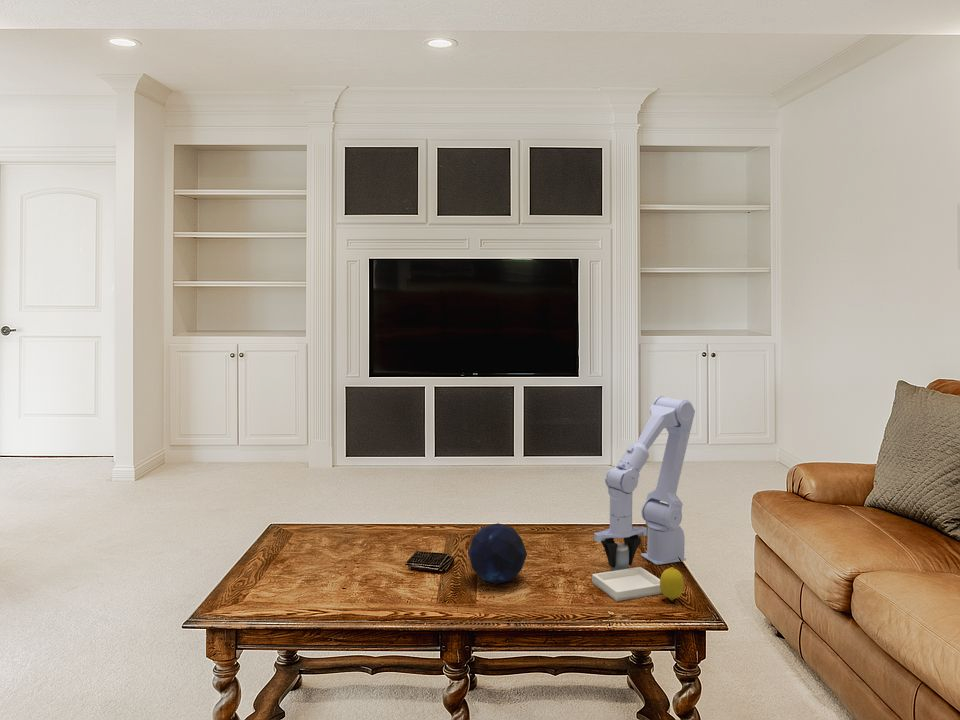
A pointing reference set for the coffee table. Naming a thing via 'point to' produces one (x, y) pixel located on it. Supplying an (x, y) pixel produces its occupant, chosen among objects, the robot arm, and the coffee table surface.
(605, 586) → the tray
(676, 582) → the lemon
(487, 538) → the decorative orb
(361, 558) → the coffee table surface
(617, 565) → the cylinder
